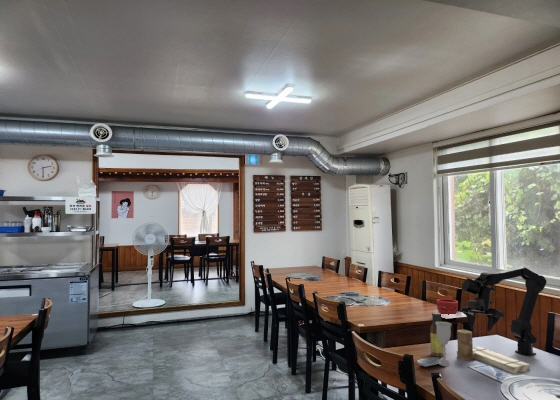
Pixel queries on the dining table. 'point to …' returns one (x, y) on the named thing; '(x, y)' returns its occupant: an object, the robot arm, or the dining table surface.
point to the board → (500, 360)
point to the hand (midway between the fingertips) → (479, 330)
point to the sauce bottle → (435, 336)
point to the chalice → (444, 339)
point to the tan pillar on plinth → (465, 345)
